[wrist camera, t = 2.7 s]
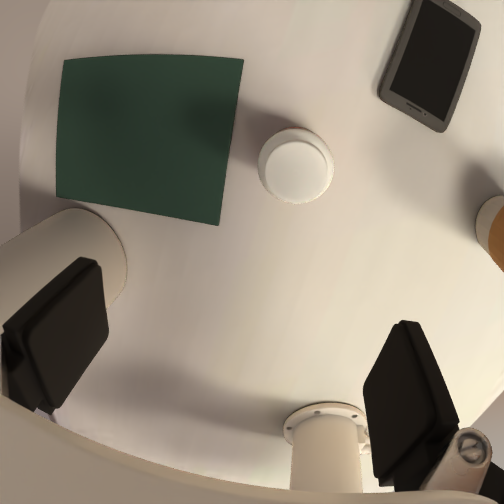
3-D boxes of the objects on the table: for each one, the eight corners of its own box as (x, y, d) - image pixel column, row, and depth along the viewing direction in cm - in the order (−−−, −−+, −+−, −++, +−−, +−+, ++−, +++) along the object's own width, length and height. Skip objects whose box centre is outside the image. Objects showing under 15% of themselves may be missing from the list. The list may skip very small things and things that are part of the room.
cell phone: (479, 24, 19) (483, 23, 18) (441, 135, 25) (444, 136, 24) (418, -15, 19) (421, -18, 18) (375, 98, 25) (377, 97, 24)
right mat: (244, 60, 25) (243, 59, 25) (218, 224, 32) (218, 226, 31) (66, 60, 26) (64, 60, 26) (58, 196, 33) (56, 197, 32)
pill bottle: (335, 141, 27) (354, 154, 18) (310, 193, 29) (317, 229, 20) (279, 116, 27) (272, 116, 18) (256, 170, 29) (239, 195, 20)
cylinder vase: (56, 289, 38) (-61, 409, 16) (44, 201, 33) (-119, 302, 11) (133, 309, 38) (21, 474, 15) (127, 212, 32) (-59, 363, 10)
